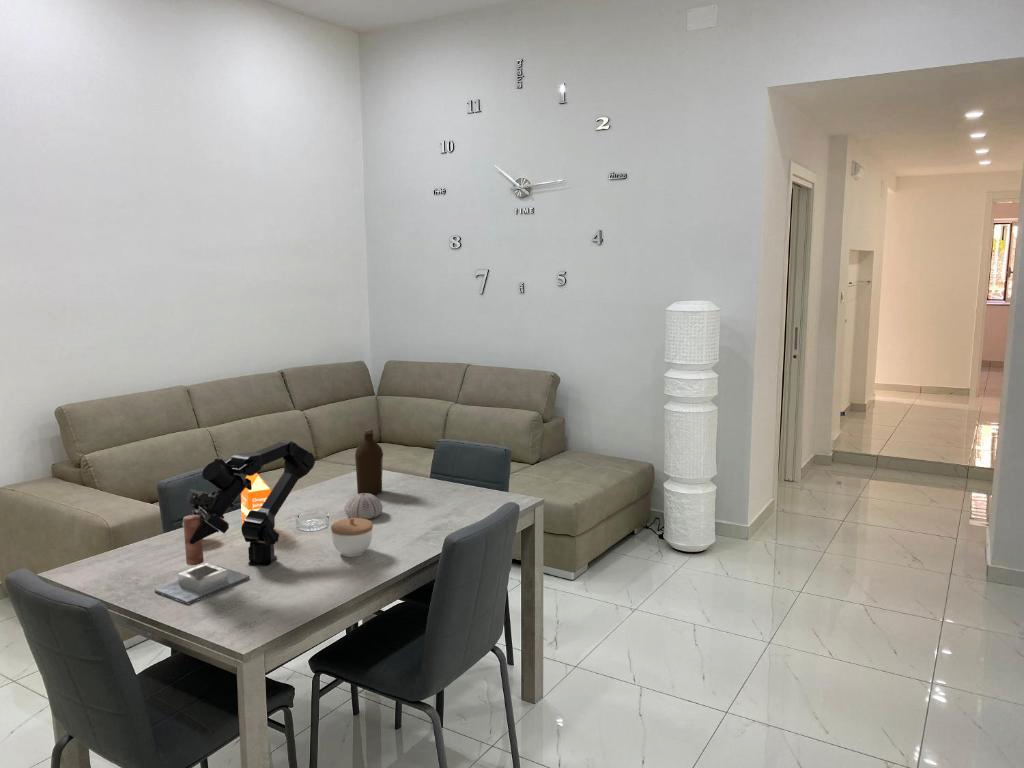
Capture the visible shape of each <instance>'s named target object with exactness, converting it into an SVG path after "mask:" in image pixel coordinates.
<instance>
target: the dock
mask: <svg viewBox="0 0 1024 768" xmlns="http://www.w3.org/2000/svg"><path fill="white" fill-rule="evenodd" d="M247 579H248V580H250V579H251V578H250V575H247V574H245V573H242V572H238V571H235V570H232V569H229V568H226V567H223V566H221V565H218V564H217V565H214V564H210V563H208V562H205V563H201V564H198V565H196V566H194V567H192V568H189V569H187V570H184V571H181V572H179V573H177V580H176V581H173V582H171V583H168V584H166V585H163V586H160V587H158V588H155V589H154V593H155V592H157V593H156V594H158V593H159V594H158V595H161V594H163V595H165V596H164V597H166V596H168V597H167V598H169V597H170V598H169V599H171V598H174V599H177V600H179V601H182V602H184V603H186V604H185V605H187V604H188V603H190V604H192V603H191V602H193V601H195V602H197V601H196V600H198V599H200V600H202V599H205V598H207V597H209V595H210V596H211V595H214V594H216V593H219V592H222V591H224V590H226V589H228V588H230V587H233V586H235V585H238V584H240V583H242V582H245V581H248V580H247ZM163 595H162V596H163ZM204 597H205V598H204ZM201 598H202V599H201ZM174 599H173V600H174ZM179 601H178V602H179ZM198 601H199V600H198ZM182 602H181V603H182ZM184 603H183V604H184ZM193 603H194V602H193ZM188 605H189V604H188Z"/></svg>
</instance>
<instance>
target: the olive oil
mask: <svg viewBox="0 0 1024 768" xmlns="http://www.w3.org/2000/svg"><path fill="white" fill-rule="evenodd" d="M373 432H374V430H373V429H372V428H371V429H370V428H367V429H365V430H364V435H363V436H364V437H363V438H364V440H362V442H360V444H359V445H357V448H356V450H355V453H354V458H355V459H354V460H355V470H356V471H355V472H356V488H357V495H358V494H361V493H369V494H372V495H374V496H378V495H381V493H383V467H384V466H383V462H384V452H383V449H382V447H381V446H380V445H379V444H378V443H377V441H375V440H374V433H373Z"/></svg>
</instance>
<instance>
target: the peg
mask: <svg viewBox="0 0 1024 768" xmlns="http://www.w3.org/2000/svg"><path fill="white" fill-rule="evenodd" d="M182 521H183V522H182V523H183V524H184V528H183V535H184V546H185V561H186V565H188V566H199V565H202V564H204V561H205V559H204V545H203V540H202V539H201V540H199V541H198V542H196V543H194V544H191V543H190V542H189V541H190V539H191V538H192V536H193V534H194V533H195V531H196V530H197V528H198V527H199V525H200V515H193V514H189V515H186V516H184V517H183V519H182ZM183 524H182V525H183Z"/></svg>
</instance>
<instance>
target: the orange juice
mask: <svg viewBox="0 0 1024 768" xmlns="http://www.w3.org/2000/svg"><path fill="white" fill-rule="evenodd" d="M245 476H246V477H245V478H248V479H249V480H251V486H252V489H251V490H249V489H247V488H245V489H244V490H243V492H242V493H241V494H240V509H241V526H242V525H243V523H244V521H243V520H244V519H245V518H246V517H247V515H248V513H249V512H250V511H251V510H255V511H257V510H259V509H260V508H261V507H262V505H263V504H264V502H265V500H266V499H267V497H268V496H269V494H270V493H271V491H272V489H271V488H270V487H269V486H268V484H267V483H266V482H265V481H264V480H263V478H261V476H260V474H258V472H257V473H256V474H254V475H253V476H247V475H245Z"/></svg>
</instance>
